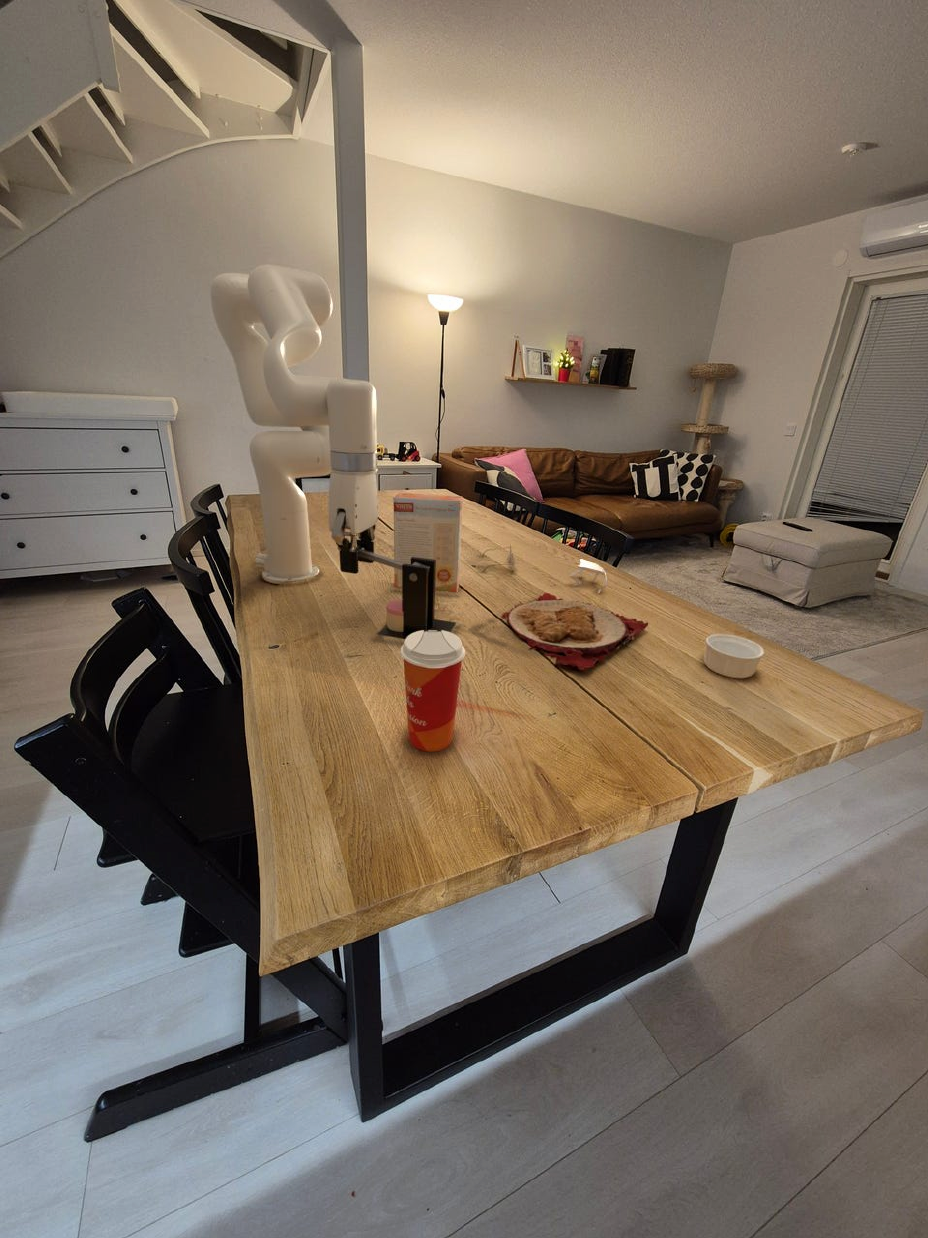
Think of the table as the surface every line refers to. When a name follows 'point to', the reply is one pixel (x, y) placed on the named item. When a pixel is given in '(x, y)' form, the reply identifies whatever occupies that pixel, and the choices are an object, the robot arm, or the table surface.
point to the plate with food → (572, 629)
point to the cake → (395, 615)
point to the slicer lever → (381, 558)
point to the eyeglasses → (508, 556)
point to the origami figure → (589, 567)
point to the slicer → (418, 600)
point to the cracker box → (429, 535)
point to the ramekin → (732, 655)
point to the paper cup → (431, 686)
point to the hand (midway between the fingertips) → (357, 565)
